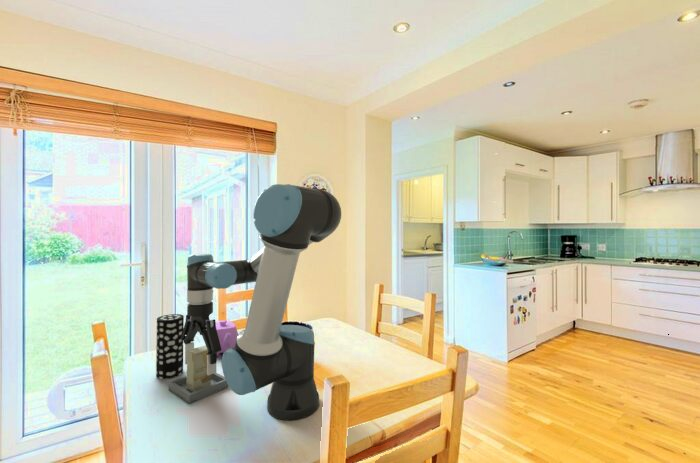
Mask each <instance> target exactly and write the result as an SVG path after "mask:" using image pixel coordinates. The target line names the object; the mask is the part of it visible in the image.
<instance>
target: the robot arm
mask: <svg viewBox="0 0 700 463" xmlns="http://www.w3.org/2000/svg"><path fill="white" fill-rule="evenodd" d="M252 216H253V219H254V222H253V223H254V226H255V229H256V231H257V232H258V233H259V235H258V236H259V239H260V241H261V242H262V243H263V247H262V248H261V249H260V250H259V251H258V252H256V253H255V254H254V255H253V256H251V257H250V258H248V259H243V260H242V259H241V260H230V261H228V260H227V261H214V257H213V255H212V254H211V253H196V254H190V255H188V257H187V265H186V270H187V271H186V272H187V274H186V277H187V280H186V281H187V282H186V283H187V287H186V288H187V289H186V301H187V308H186V309H187V310H186V311H187V314H186V315H185V321H184V329H183V333H182V336H181V340H182V341H183V345H184V364H185V365H187V353H188V350H191V349H194V348H195V337H196V335H197V334H198V333H199V335H200V336H202V339H203V341H204V343H205V346H206V347H207V349H208V353H207V375H211V374H214V373H217V360H218V359H217V358H218V356H217V352H219V351H221V345H220V341H219V337H218V333H217V329H216V323H217V321H216V319H210V315H211V314H213V313H214V302H213V300H214V289H218V290H219V289H228V288H230V287H232V286H234V285H235V286H236V285H241V284H242V285H244V284H250V283H255V284H254V289H253V293H252V298H251V303H250V306H249V310H248V315H247V319H246V324H245V328H244V329H243V330H241V331H239V332H238V336H237V339H236V343H235V347H234V348H229V349H228V350H227V351H225V352H224V353H223V354H222V357H221V369H222V375H223V376H224V377H225V380H226V382H227V384H228V386H229V387H228V388H229V389H230V390H231V391H232V393H234V394H236V395H239V396H245V395H247V394H251V393H254V392H256V391H258V390H260V389H263V388H265V387H266V386H269V385H271V384H272V386H271V389H270V392H269V395H268V397H267V403H266V404H267V405H266V411H267V412H268V414H269V415H271V416H272V417H274V418H275V419H278V420H284V421H297V420H300V419H304V418H307V417H309V416H311V415H313V414H314V413H315V412H316V411H317V410H318V409H319V407H320V394H319V392H318V388H317V384H316V382H315V373H314V371H315V345H316V342H315V333H314V331H313V330H312V329H311V328H309V327H307V326H304V325H298V324H296V325H295V324H283V320H284V316H285V312H286V309H287V305H288V300H289V297H290V294H291V293H290V292H291V288H292V285H293V281H294V277H295V273H296V270H297V266H298V261H299V257H300V254H301V252H303V251H305V250H307V249H308V247H309V246H310V245H311V244H313V243H320V242H322V241H323V240H325V239H326V238H328V237H329V236H330V235H332V234H333V233H334V232H335V231H336V230H337V228H338V227H339V225H340V223H341V219H342V207H341V205H340V203H339V201H338V199H337V198H336V197H335V196H334V194H332V193H330V192H329V191H327V190H325V189H319V188H311V187H305V186H299V185H295V184H279V183H275V184H272V185H269V186H268V187H267V188H266V189H264V190H263V191H262V192H261V193H260V194H259V196H257V199H256V201H255V204H254V209H253V215H252Z"/></svg>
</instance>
